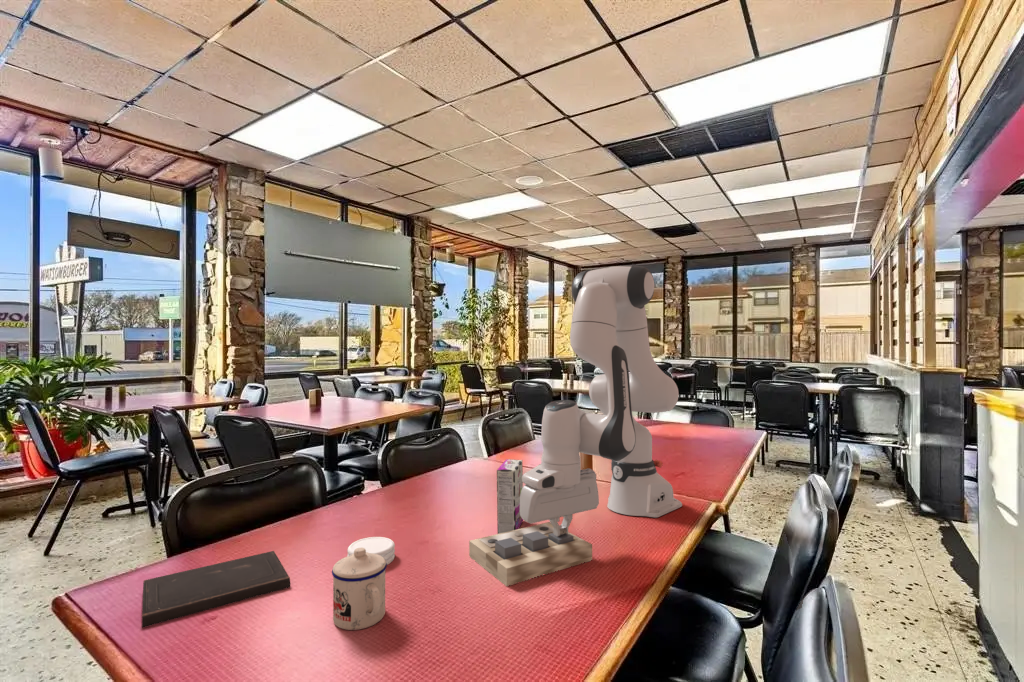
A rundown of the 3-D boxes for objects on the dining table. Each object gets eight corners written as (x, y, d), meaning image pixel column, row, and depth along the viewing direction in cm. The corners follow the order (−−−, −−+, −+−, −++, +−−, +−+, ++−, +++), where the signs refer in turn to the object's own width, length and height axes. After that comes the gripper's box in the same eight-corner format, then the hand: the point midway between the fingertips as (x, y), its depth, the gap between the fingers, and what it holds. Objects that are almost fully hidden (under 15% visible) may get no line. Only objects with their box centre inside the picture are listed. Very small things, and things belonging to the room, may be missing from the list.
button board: (548, 536, 120) (548, 520, 120) (592, 560, 107) (592, 542, 107) (469, 556, 109) (469, 539, 109) (506, 586, 95) (506, 566, 95)
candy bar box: (505, 519, 132) (505, 458, 132) (523, 520, 131) (523, 459, 131) (495, 535, 121) (495, 468, 121) (515, 536, 120) (515, 469, 120)
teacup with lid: (323, 615, 85) (324, 548, 85) (373, 597, 91) (373, 535, 91) (350, 647, 76) (351, 572, 76) (403, 625, 82) (404, 556, 82)
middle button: (537, 544, 109) (537, 531, 109) (548, 550, 105) (548, 537, 105) (522, 548, 107) (522, 534, 107) (533, 555, 103) (533, 541, 103)
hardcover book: (143, 592, 94) (143, 580, 94) (273, 561, 108) (273, 550, 108) (141, 631, 81) (142, 617, 81) (290, 590, 95) (290, 578, 95)
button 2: (562, 543, 113) (562, 530, 113) (573, 549, 109) (573, 536, 109) (548, 547, 110) (548, 534, 110) (559, 553, 107) (559, 539, 107)
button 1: (511, 551, 105) (511, 537, 105) (521, 558, 102) (521, 544, 102) (495, 555, 103) (495, 541, 103) (504, 562, 100) (504, 548, 100)
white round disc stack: (403, 554, 110) (403, 539, 110) (377, 574, 101) (377, 557, 101) (365, 548, 113) (366, 533, 113) (337, 567, 104) (337, 550, 104)
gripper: (586, 464, 118) (586, 521, 118) (515, 476, 107) (515, 539, 107) (604, 470, 113) (604, 530, 113) (532, 483, 102) (531, 549, 102)
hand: (560, 534), depth 110 cm, fingers closed
